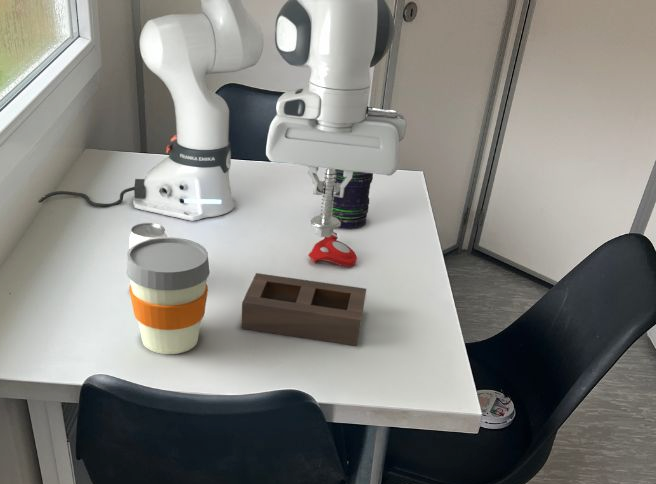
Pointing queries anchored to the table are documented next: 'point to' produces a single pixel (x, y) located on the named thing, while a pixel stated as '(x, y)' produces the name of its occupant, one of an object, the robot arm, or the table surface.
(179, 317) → the reusable coffee cup
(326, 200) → the screw
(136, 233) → the can
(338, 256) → the tracker holder
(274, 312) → the holder
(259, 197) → the table surface
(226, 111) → the robot arm
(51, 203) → the table surface
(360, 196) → the dark blue cylinder
